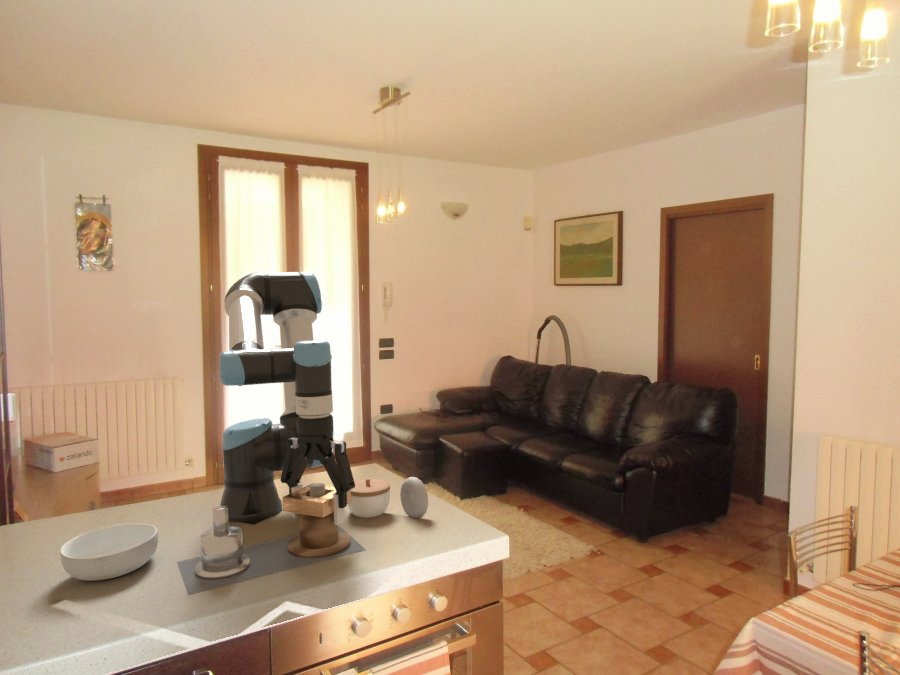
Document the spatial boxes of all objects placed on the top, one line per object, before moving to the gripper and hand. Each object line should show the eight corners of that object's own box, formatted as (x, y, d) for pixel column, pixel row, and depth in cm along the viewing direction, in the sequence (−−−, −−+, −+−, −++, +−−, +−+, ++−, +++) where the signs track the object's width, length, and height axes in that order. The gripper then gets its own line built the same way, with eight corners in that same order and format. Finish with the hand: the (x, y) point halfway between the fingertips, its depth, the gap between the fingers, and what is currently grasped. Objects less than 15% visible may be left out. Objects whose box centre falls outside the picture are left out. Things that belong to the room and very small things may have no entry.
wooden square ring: (283, 511, 124) (282, 497, 124) (313, 496, 133) (312, 483, 133) (323, 517, 120) (322, 502, 120) (351, 501, 129) (350, 488, 129)
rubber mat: (188, 601, 107) (188, 594, 107) (177, 567, 120) (177, 561, 120) (366, 555, 124) (366, 549, 124) (339, 530, 138) (338, 525, 138)
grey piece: (431, 522, 142) (430, 480, 141) (419, 526, 140) (418, 483, 139) (410, 510, 150) (409, 471, 149) (398, 513, 148) (397, 474, 147)
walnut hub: (274, 552, 124) (271, 491, 123) (313, 529, 136) (311, 473, 135) (326, 562, 119) (324, 498, 118) (362, 537, 130) (360, 479, 130)
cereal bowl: (97, 555, 128) (95, 522, 127) (175, 554, 127) (173, 521, 127) (40, 594, 111) (38, 557, 110) (129, 593, 110) (127, 556, 110)
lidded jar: (337, 517, 146) (336, 479, 146) (371, 505, 154) (370, 469, 154) (365, 528, 139) (364, 488, 139) (400, 515, 147) (399, 477, 146)
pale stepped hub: (183, 574, 115) (180, 513, 114) (223, 553, 124) (220, 497, 123) (222, 583, 111) (219, 520, 110) (260, 561, 120) (258, 503, 119)
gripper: (259, 414, 127) (264, 518, 128) (349, 421, 117) (353, 533, 119) (283, 408, 134) (287, 506, 135) (370, 414, 124) (373, 520, 126)
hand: (318, 519), depth 127 cm, fingers closed on wooden square ring, 10 cm apart
